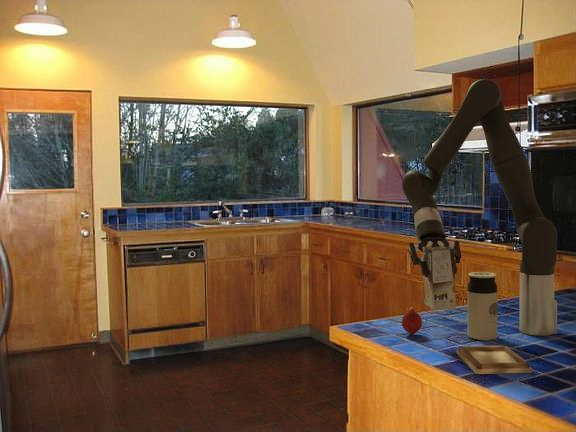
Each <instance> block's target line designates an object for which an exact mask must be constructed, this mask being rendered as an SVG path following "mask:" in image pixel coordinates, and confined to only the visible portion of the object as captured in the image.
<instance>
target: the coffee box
mask: <svg viewBox="0 0 576 432" xmlns="http://www.w3.org/2000/svg"><path fill="white" fill-rule="evenodd" d="M422 248H423V249H422V251H423V252H425V262H426V264H427V268H428V277H425V276H424V275H422V276H423V277H422V279H423V304H424V305H426V306H427V307H428V308H430V309H431V310H432V311H444V310H455V309H456V307H457V303H456V301H457V300H456V297H457V296H456V274H455V252H454V250H455V249H453V248H450V247H447V246H430V247H426V246H424V247H422ZM423 252H422V253H423Z"/></svg>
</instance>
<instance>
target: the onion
mask: <svg viewBox="0 0 576 432" xmlns="http://www.w3.org/2000/svg"><path fill="white" fill-rule="evenodd" d="M401 326H402V328H403V330H405V332H407V334H410V335H411V336H413V335H415V334H416V333H417V332H419V331H420V330H421V329H422V327H423V319H422V317H421V315H420V313H419V312H417V311H415V307H413V306H412V307H410V308H409V310H408V311H407V312H405V313H403V317H402V319H401Z"/></svg>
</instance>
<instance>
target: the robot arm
mask: <svg viewBox="0 0 576 432" xmlns="http://www.w3.org/2000/svg"><path fill="white" fill-rule="evenodd" d="M478 123H479V124H480V125H481V128H482V130H483V132H484V136H485V138H484V139H485V142H486V147H487V151H488V155H489V159H490V162H491V165H492V168H493V170H494V174H495V176H496V178H497V181H498V182H499V185H500V187H501V189H502V192H503V194H504V195H505V198H506V200H507V201H508V205H509V206H510V209H511V212H512V215H513V218H514V222H515V223H514V224H515V227H516V230H517V234H518V238H519V240H520V242H521V244H522V246H521V247H522V248H521V261H520V263H519V324H518V325H519V332H520V333H522V334H526V335H530V336H538V337H539V336H540V337H541V336H552V335H553V334H554V335H556V334H558V330H557V329H558V301H557V300H556V299H555V267H556V266H557V265H556V264H557V258H558V257H557V256H558V254H557V253H558V231H557V228H556V226H555V225H554V223H552V221H550V220H549V219H547V218H546V217H545V216H544V214H543V212H542V210H541V207H540V205H539V203H538V201H537V198H536V195H535V190H534V189H535V187H534V184H533V182H534V181H533V175H532V172H531V168H530V164H529V162H528V159H527V156H526V154H525V151H524V149H523V147H522V145H521V142H520V140H519V139H518V136H517V135H516V133H515V132H514V130H513V128H512V125H511V124H510V122H509V118H508V116H507V113H506V109H505V106H504V102H503V97H502V91H501V88H500V87H499V85H498V84H497V82H495V81H494V80H492V79H490V78H482V79H477V80H476V81H474V82H473V83H471V85H470V86H469V87H468V89H467V93H466V94H465V96H464V99H463V101H462V103H461V105H460V107H459V109H458V110H457V112H456V114H455V116H453V118H452V120H451V122H449V124H448V125H447V127H446V128H445V130H444V131H443V132H442V134H440V136H439V137H438V139H437V140H435V143H434V144H433V145H432V147H431V148H430V150H429V151H428V152H427V154H426V156H424V157H423V164H424V165H425V167H427V168H428V173H427V174H424V173H422V172H420V171H418V170H413V169H411V170H409V171H408V172H406V173H405V174H404V176H403V177H402V182H401V185H402V186H401V187H402V191H403V193H404V195H405V197H406V199H407V200H408V202H409V204H410V206H411V208H412V214H413V218H414V219H413V220H414V229H415V232H416V236H417V241H418V243H414V242H409V243H408V244H409V245H408V253H409V256H410V260H411V263H412V265H413V266H417V265H418V266H419V267H420V273H421V275H422V276H423V275H424V276H425V277H428V268H427V264H426V262H425V252H423V251H422V249H423V248H422V247H424V246H426V247H430V246H447V247H450V248H453V249H455V250H454V252H455V275H457V272H458V267H457V264H460V263H461V259H462V253H461V252H462V251H461V246H460V242H459V241H458V240H455V241H454V242H449V241H448V240H447V237H446V233H445V230H444V229H445V228H444V226H443V222H442V218H441V215H440V212H439V209H438V205H437V202H436V199H435V198H434V196H435V195H436V193H437V191H438V189H439V186H440V183H441V180H442V179H443V176H444V174H445V171H446V169H447V168H448V167H449V166H450V163H451V162H452V161H453V160H454V159H455V158H456V156H457V154H458V153H459V151H460V150H461V148H462V146H463V144H464V143H465V141H466V140H467V138H468V136H469V134H470V133H471V132H472V131H473V129H474V128H475V127H476V125H477V124H478ZM418 250H419V251H420V252H421V253H422V256H420V257H419V256H418V254H417V252H418Z"/></svg>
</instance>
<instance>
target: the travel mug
mask: <svg viewBox="0 0 576 432" xmlns="http://www.w3.org/2000/svg"><path fill="white" fill-rule="evenodd" d="M467 275H468V276H469V281H468V283H467V292H466V293H467V337H469V338H471V339H472V338H473V340H475V339H477V341H493V340H495V339H497V338H498V285H497V283H496V281H495V280H496V277H497V274H496V273H495V272H489V271H473V272H469V273H468V274H467Z"/></svg>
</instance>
